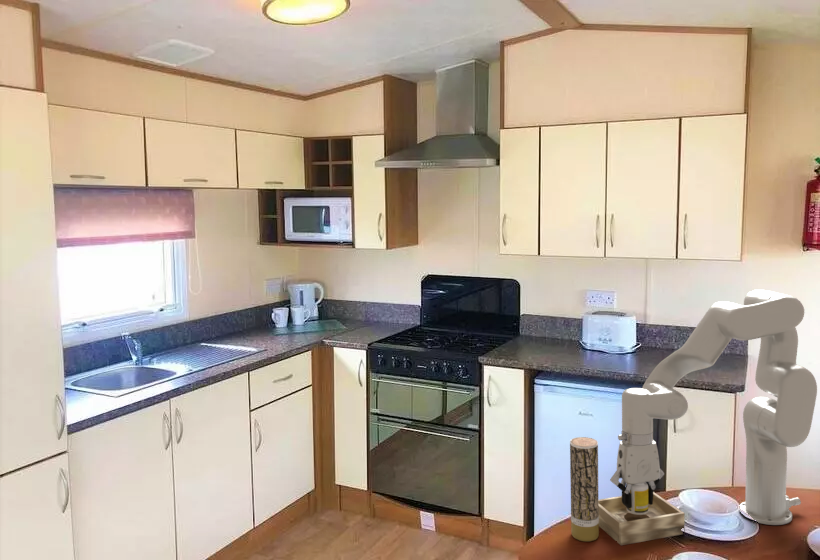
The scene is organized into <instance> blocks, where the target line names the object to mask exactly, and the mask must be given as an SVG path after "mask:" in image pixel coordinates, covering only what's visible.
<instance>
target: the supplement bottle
mask: <svg viewBox="0 0 820 560" xmlns="http://www.w3.org/2000/svg"><path fill="white" fill-rule="evenodd" d="M629 493H631V499H632V507H631V508H627V511H628V512H629V513H632V514H635V515H644V514H646V513H648V484H647V483H646V482H644V483H637V484H632V485H631V488H630V492H629Z"/></svg>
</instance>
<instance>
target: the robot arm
mask: <svg viewBox="0 0 820 560" xmlns="http://www.w3.org/2000/svg"><path fill="white" fill-rule="evenodd" d="M804 317H805V308H804V304H803V303H802V302H801V300H800V299H798V298H797V297H794V296H792V295H788V294H785V293H780V292H776V291H772V290H765V289H754V290H752V291H748V293H747V294H746V295H745V297H744V299H743V304H738V303H735V302H732V301H731V302H730V301H725V300H724V301H723V300H722V301H717V302H714V303H713V304H712V305H710V307H709V308H708V310H707V311H706V312H705V314H704V315H703V316H702V318H701V320H700V321H699V323H698V324H697V325H696V327H695V328H694V330H693V331H692V333H691V334H690V335H689V336H688V338H687V339H686V341H685V343H683V344H682V346H681V347H679V349H677V350H675V351H673V352H672V353H671V354H669V355H668V356H667V357H665V358H664V359H662V360H661V361H660V362H659V363H658V364H657V365H656V366H655V367H654V369H652V371H651V372H650V374H649V375H648V377H647V378H646V380H645V382H644V384H643V385H642V387H631V388H626V389H624V390H623V391H622V394H621V434H618V435H617V439H618V441H619V445H618V449H617V458H616V470H615V471H614V473H613V475H612V476H611V478H610V480H609V481H610V482H611V483H612V484H614V485H615V486H616V487H618V489H619V490H620V491H621V496H622V503H623V505H625V506H626V507H627V508H631V507H632V499H631V493H629V492H630V488H631V485H632V484H637V483H644V482H646V483H647V484H648V504H650V505H652V504H653V492H654V490H655V489H656V486H657V484H658V483H659V482H660V480H661V479H662V478H663V477H664V476H665V472H664V471H663V470H662V468H660V467H661V466H660V456H659V449H658V445H657V442H656V441H655V440H654V419H659V420H667V421H669V420H670V421H671V420H677V419H681V418H682V417H684V415H686V413H687V411H688V408H689V402H688V400H687V399H686V397H685V396H684V395H683V393H681V392H680V391H678V390H676V389H674V387H675V386H676V384H677V383H678V382H679V381H680V380H681V379H682V378H683V377H684V376H686V375H688V374H689V373H692V372H695V371H698V370H699V371H700V370H704V369H707V368H711V367H713V366H714V365H715V363H716V362H717V360H718V359H719V357H720V356H721V355H722V353H723V352H724V351H725V349H726V348H727V346H728V345H729V343H730V342H731V340H732V339H734V340H736V341H752V340H757V339H760V345H759V347H760V348H759V353H758V358H757V364H756V370H755V377H754V378H755V380H754V381H755V384H756V385H757V387H758V389H760V390H761V391H763V392H765V393H767V394H769V395H771V396H773V397H776V398H777V399H773V398H770V397H767V396H757V397H754V398H751V399H749V401H748V402H747V403H746V404H745V405H744V408H743V412H742V420H743V422H742V423H743V426H744V433H745V440H746V441H745V445H746V446H745V447H746V448H745V449H746V450H745V492H744V493H745V501H742V502H741V503H740V504H739V506H740V509H741V510H743V511H745V512H746V513H748V515H750V516H751V517H752V518H753V519H754V520H756V521H757V522H758V524H763V525H769V526H782V525H786V524H787V525H788V524H789V523H791V521H792V520H793V513H792V511H791V510H790V508H792V506H800V505H801V503H802V502H801V498H800V497H798V496H797V497H791V498H790V497H789V496H788V494H787V473H788V472H787V469H788V468H787V466H788V465H787V464H788V463H787V462H788V451H787V449H788V448H795V447H798V446H800V445H802V444H803V443H804V442H805V441H806V440H807V438H808V437H809V434H810V431H811V427H812V422H813V416H814V413H815V412H814V411H815V406H816V400H817V395H818V384H817V380H816V378H815V376H814V374H813V373H812V372H811V371H810V370H809V369H808V368H806V367H804V366H801V365H799V364H797V356H798V347H799V336H798V331H797V326H799V325H800V324H801V322H802V321H803V320H804ZM620 479H621V481H619V480H620ZM739 506H738V507H739ZM757 522H756V523H757Z"/></svg>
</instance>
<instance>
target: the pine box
mask: <svg viewBox="0 0 820 560" xmlns="http://www.w3.org/2000/svg"><path fill="white" fill-rule="evenodd" d="M598 502H599V528H600V529H602V530H603V531H604V532H605V533H606V535H609V536H610V537H611V538H612V539H613V540H614V541H615V542H616V541H617V542H616V543H617V544H619V546H625V545H631V544H636V543H641V542H646V541H652V540H658V539H664V538H670V537H674V536H680V535H684V534H683V532H682V531H681V529H682V528H684V529H685V519H686V518H685V516H686V515H685V512H683V511H682V510H681V509H679V508H677V507H676V506H675V505H673V504H672V503H670V502H669V501H668V500H666V499H664V498H663V497H661V496H660V495H659V494H657V493H655V491H653V504H652V505H650V504H648V513H646V514H644V515H635V514H632V513H629V512H628V511H627V507H626V506H625V505H623V503H622V495H620V496H613V497H606V498H599V499H598Z"/></svg>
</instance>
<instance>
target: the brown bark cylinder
mask: <svg viewBox="0 0 820 560" xmlns="http://www.w3.org/2000/svg"><path fill="white" fill-rule="evenodd" d="M569 449H570V450H569V455H570V456H569V460H570V461H569V463H570V465H569V467H570V469H569V470H570V521H571V522H570V523H571V525H570V528H571V529H570V530H571V531H570V532H571V535H572V537H573V539H576V540H577V541H580V542H586V543H587V542H593V541H596V540H597V539H598V537H599V535H600V534H599V533H600V531H599V530H600V527H599V502H598V500H599V441H598V440H596V438H592V437H589V436H587V437H586V436H585V437H584V436H579V437H574V438H571V439H569Z"/></svg>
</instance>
